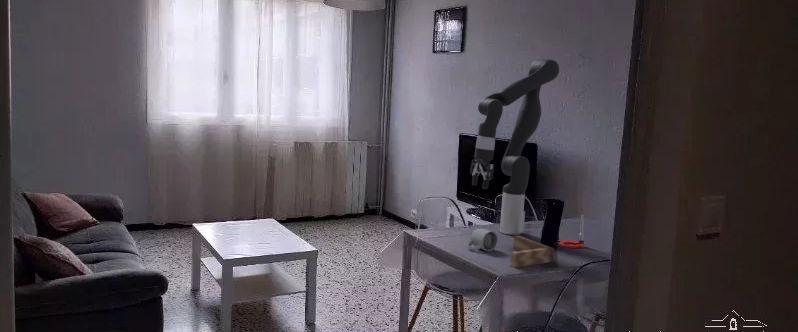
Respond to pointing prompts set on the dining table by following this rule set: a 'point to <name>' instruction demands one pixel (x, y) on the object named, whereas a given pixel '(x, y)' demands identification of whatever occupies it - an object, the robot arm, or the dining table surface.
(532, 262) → the corner walls
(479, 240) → the ceramic mug
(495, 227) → the dining table surface
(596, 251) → the dining table surface
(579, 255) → the dining table surface
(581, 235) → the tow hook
